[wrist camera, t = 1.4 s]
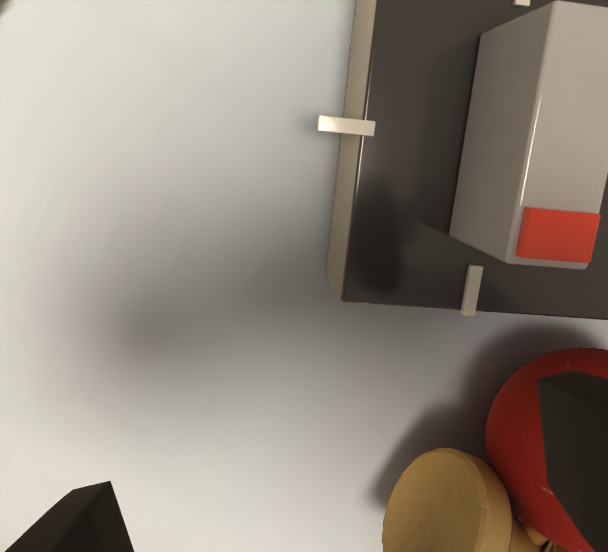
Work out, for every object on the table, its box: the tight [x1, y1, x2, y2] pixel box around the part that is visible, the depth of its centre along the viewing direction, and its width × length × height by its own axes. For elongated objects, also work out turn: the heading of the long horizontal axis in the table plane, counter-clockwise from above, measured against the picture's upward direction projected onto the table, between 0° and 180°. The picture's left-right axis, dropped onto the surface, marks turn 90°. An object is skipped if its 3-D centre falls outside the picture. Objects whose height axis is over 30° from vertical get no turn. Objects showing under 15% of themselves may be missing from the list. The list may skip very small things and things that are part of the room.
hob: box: [317, 0, 608, 320], centre depth 16 cm, size 12×9×3 cm
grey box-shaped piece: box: [449, 0, 608, 270], centre depth 12 cm, size 5×2×4 cm, turn 174°
